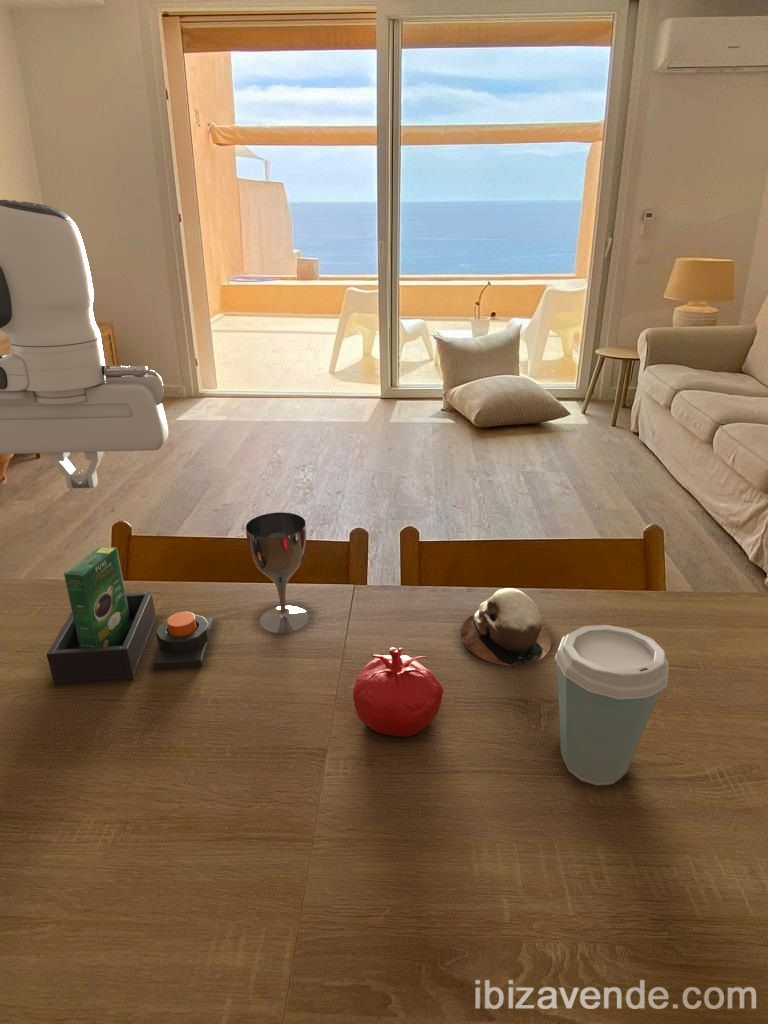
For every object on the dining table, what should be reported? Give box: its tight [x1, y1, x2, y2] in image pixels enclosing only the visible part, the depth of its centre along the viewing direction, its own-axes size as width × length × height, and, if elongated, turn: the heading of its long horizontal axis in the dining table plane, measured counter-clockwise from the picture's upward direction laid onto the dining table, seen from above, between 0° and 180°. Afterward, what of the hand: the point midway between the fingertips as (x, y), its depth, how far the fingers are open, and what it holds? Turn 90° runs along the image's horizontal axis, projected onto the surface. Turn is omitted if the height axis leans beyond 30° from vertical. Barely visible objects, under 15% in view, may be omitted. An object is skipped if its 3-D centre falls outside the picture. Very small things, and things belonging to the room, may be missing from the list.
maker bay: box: [46, 591, 157, 686], centre depth 92 cm, size 10×14×5 cm
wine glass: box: [245, 511, 309, 634], centre depth 96 cm, size 8×8×15 cm
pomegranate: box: [352, 646, 444, 737], centre depth 78 cm, size 10×10×9 cm
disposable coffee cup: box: [554, 624, 670, 786], centre depth 70 cm, size 11×11×15 cm
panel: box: [153, 614, 214, 671], centre depth 93 cm, size 6×10×3 cm, turn 5°
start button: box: [166, 611, 197, 637], centre depth 92 cm, size 4×4×2 cm
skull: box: [460, 587, 552, 667], centre depth 93 cm, size 12×10×10 cm
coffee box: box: [63, 545, 131, 649], centre depth 89 cm, size 8×3×13 cm, turn 168°
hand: (83, 486), depth 80 cm, fingers closed
